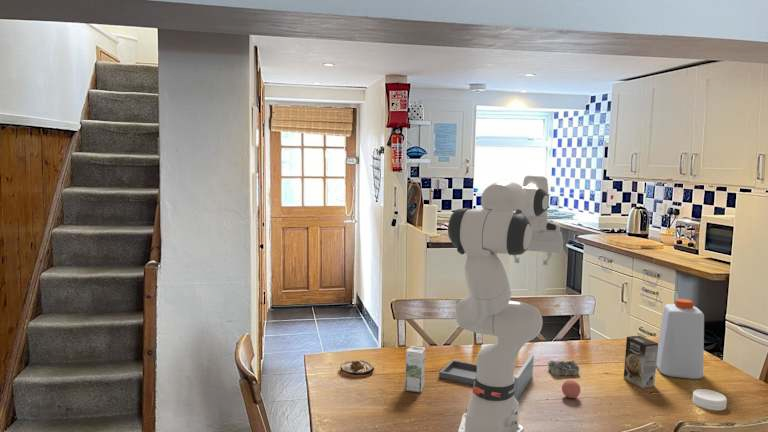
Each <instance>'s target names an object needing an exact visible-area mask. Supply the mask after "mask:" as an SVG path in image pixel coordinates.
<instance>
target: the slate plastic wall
mask: <svg viewBox="0 0 768 432" xmlns="http://www.w3.org/2000/svg"><path fill="white" fill-rule="evenodd" d="M533 375H534V355H533V354H529V356H528V358H527V359H526V361H525V362H524V363H523V364H522V366H521V368H520V369H519V370H518V372H517V373H516V374H515V375H514V381H515V392H514V397H515V398H516V400H517V401H518V400H519V399H520V397H521V396H522V393H523V392H524V390H525V389H526V387H527V386H528V384H529V383H530V381H531V380H532V378H533Z"/></svg>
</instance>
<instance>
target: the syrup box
mask: <svg viewBox="0 0 768 432" xmlns="http://www.w3.org/2000/svg"><path fill="white" fill-rule="evenodd" d="M405 353H406V354H405V382H404V386H405V387H404V391H406V392H410V393H412V392H414V393H419V394H422V391H423V390H424V387H425V369H426V368H425V367H426V364H425V363H426V347H421V346H414V345H409V346H408V347H407V349H406V352H405Z"/></svg>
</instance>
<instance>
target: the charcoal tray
mask: <svg viewBox="0 0 768 432" xmlns="http://www.w3.org/2000/svg"><path fill="white" fill-rule="evenodd" d="M476 372H477V363H473V362H467V361H461V360H457V359H451V360H450V361H449V362H448V363H447V364H446V365H445V366H444V367H443V368H442V369H441V370H440V371H439V373H438V375H439V376H438V378H439V379H440V378H441V379H442V380H445V381H451V382H454V383H460V384H464V385H469V386H472V387H474V381H475V377H476ZM441 379H440V380H441Z"/></svg>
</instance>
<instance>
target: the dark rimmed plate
mask: <svg viewBox="0 0 768 432" xmlns="http://www.w3.org/2000/svg"><path fill="white" fill-rule="evenodd" d="M374 371H375V367H374V366H373V365H372V364H371V363H369V362H368V361H365V360H363V359H361V360H349V361H345V362H344V363H341V364H340V374H341V373H342V374H344V376H346V377H348V376H350V377H349V378H355V377H360V378H361V377H363V378H367V377H369V375H370V374H371V375H373V374H374ZM342 374H341V375H342ZM371 375H370V376H371ZM366 376H367V377H366Z"/></svg>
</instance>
